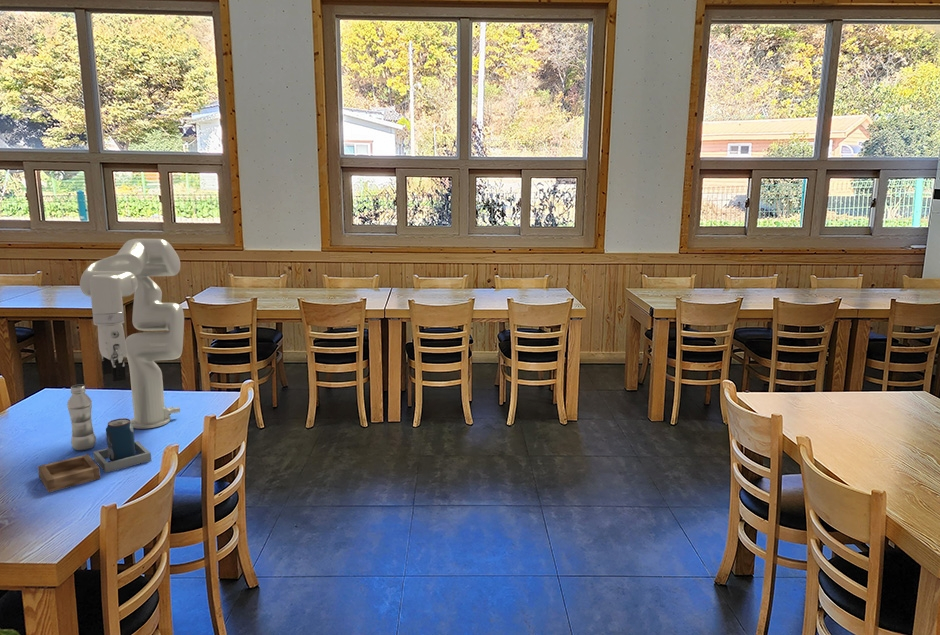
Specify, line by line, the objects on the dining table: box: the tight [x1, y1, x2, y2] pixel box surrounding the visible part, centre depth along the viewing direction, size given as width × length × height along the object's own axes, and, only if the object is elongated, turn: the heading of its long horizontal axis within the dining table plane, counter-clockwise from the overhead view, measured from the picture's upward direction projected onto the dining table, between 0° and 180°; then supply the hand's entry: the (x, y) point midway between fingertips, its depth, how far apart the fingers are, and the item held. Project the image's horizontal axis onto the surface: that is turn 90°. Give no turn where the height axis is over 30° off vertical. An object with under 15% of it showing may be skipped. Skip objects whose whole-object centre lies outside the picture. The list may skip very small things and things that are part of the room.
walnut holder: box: [37, 454, 101, 493], centre depth 167 cm, size 12×12×3 cm
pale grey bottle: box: [66, 384, 97, 451], centre depth 185 cm, size 6×7×20 cm
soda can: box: [105, 418, 137, 462], centre depth 178 cm, size 7×7×12 cm
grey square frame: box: [93, 440, 152, 474], centre depth 179 cm, size 12×12×2 cm
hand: (114, 376), depth 174 cm, fingers open, 9 cm apart
